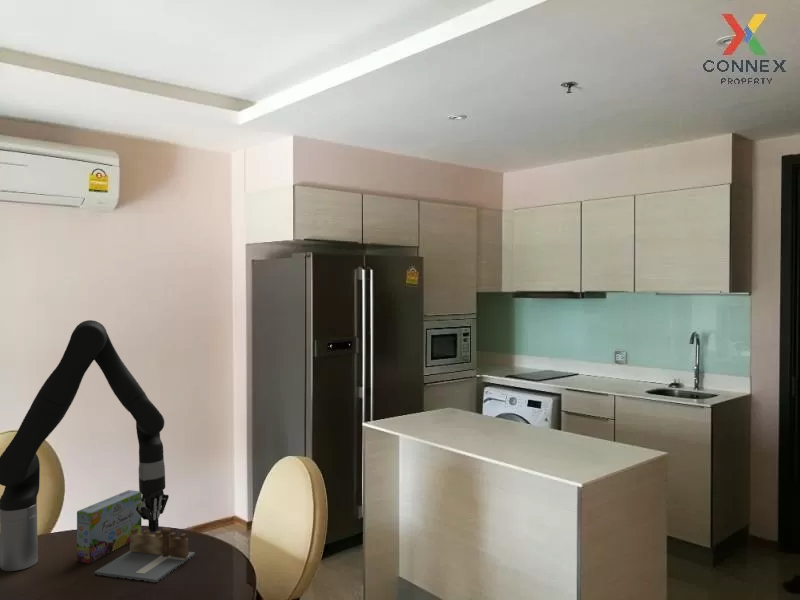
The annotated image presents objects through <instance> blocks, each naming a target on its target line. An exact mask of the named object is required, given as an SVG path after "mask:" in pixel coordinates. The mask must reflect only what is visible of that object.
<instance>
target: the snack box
mask: <svg viewBox="0 0 800 600" xmlns="http://www.w3.org/2000/svg"><path fill="white" fill-rule="evenodd" d="M141 499H142V493H141V492H140V491H139V490H133V489H132V490H131V489H128V490H124V491H123V492H120V493H118V494H116V495H114V496H110V497H109V498H106V499H103V500H101V501H98V502H96V503H94V504H91V505H89V506H87V507H84V508H82V509H78V510H77V511H76V561H77V562H81V563H86V564H89V563H90V564H92V563H93V562H95V560H96V561H97V560H100V558H103V557H105V556H107V555H108V553H109V554H110V552H111V553H112V551H113V552H115V551H117V550H119V549H120V547H121V546H123V545H125V544H127V543H129V542H130V534H131V530H132V529H134V528H137V529H138V533H142V523H143V522H142V521H143V520H142V519H143V518H142V517H141V516H140V514H139V513H138V512H137V511H136V507H140V505H141V503H142V502H141ZM129 544H130V543H129ZM127 545H128V544H127ZM125 546H126V545H125ZM123 547H124V546H123ZM118 548H119V549H118ZM121 548H122V547H121ZM116 549H117V550H116ZM114 550H115V551H114ZM106 554H107V555H106Z"/></svg>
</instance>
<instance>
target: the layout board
mask: <svg viewBox="0 0 800 600" xmlns="http://www.w3.org/2000/svg"><path fill="white" fill-rule="evenodd" d="M194 555H195V556H196V552H195V551H189V556H188V557H186V558H183V557H175V556H167V557H163V554H161V555H158V554H149V553H141V552H132V551H130V550H128V551H126V552H125V553H123V554H122V555H119V557H117V558H115V559H113V560H112V561H110V562H108V563H107V564H104V565H103V566H102V567H100V568H99V569H96V570H94V575H95V574H97V575H96V576H102V575H103V576H105V577H110V578H117V577H119V578H120V579H125V578H127V580H132V579H135V580H134V581H140V580H144V581H143V582H147V581H149V582H148V583H155V582H157V583H159V582H160V581H161V580H163V579H164V578H166V577H167V576H168V575H169V574H171V573H172V572H174V571H175V570H176V569H177V567H178V566H179V567H181V566H182V565H184V564H185V563H186V562H188V561H189V560H190V559H192V558H193V557H195V556H194ZM191 557H192V558H191ZM188 559H189V560H188ZM187 560H188V561H187ZM185 561H186V562H185ZM184 562H185V563H184ZM181 564H182V565H181ZM180 565H181V566H180ZM179 567H178V568H179ZM174 569H175V570H174ZM173 570H174V571H173ZM171 571H172V572H171ZM170 572H171V573H170ZM167 574H168V575H167ZM166 575H167V576H166ZM163 577H164V578H163ZM160 579H161V580H160ZM159 580H160V581H159Z"/></svg>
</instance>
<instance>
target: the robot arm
mask: <svg viewBox="0 0 800 600" xmlns="http://www.w3.org/2000/svg"><path fill="white" fill-rule="evenodd" d="M93 362H95V363H96V364H97V365H98V367H99V368H100V370H101V372H102V374H103V375H104V378H105V379H106V381H107V384H108V386H109V387H110V389H111V390H112V392H113V394H114V395H115V396H116V398H117V399H118V401H119V402H120V404H121V405H122V406H123V407H124V409H125V410H126V411H127V412H128V413H130V414H131V416H132V417H133V419H134V421H135V427H136V430H135V431H136V435H137V442H138V461H139V462H138V463H139V464H138V491H140V492H141V493H142V499H141V502H142V503H141V505H140V507H136V511H137V512H138V513H139V514H140V516H141V517H142V519H143V520H147V521H148V530H150V533H154V532H155V533H156V532H157V531H159V527H160V525H159V518H160V516H161V515H163V513H164V511H165V509H166V506H167V503H168V500H169V494H165V493H164V492H165V491H164V490H165V489H166V468H165V467H166V465H165V460H164V458H165V457H164V445H163V441H162V439H161V432H162V430H163V429H164V427H165V419H164V416H163V415H162V413H161V412H160V410H159V409H158V408H157V407H156V406H155V404H154V403H153V402H152V401H151V400H150V399H149V397H148V396H147V394H146V392H145V391H144V390H143V388H142V387H141V385H140V384H139V382H138V381H137V380H136V378H135V377H134V376H133V374H132V372H131V371H130V370H129V369H128V368H127V366H126V365H125V363H124V361H122V358H120V356H119V354H118V352H117V351H116V349H115V347H114V345H113V342H112V340H111V338H110V337H109V334H108V332H107V329H106V327H105V326H104V325H103V324H102V323H100V321H99V322H98V321H97V320H92V319H91V320H84V321H82V322H80V323H78V324H77V325H76V327H75V328H74V330H73V331H72V332H71V335H70V339H69V341H68V343H67V345H66V348H65V351H64V353H63V355H62V357H61V359H60V361H59V363H58V364H57V366H56V367H55V368H54V370H52V372H51V374H49V376H48V377H47V379H46V380H45V381H44V383H43V384H42V386H41V388H40V389H39V390H38V392H37V394H36V396H35V397H34V398H33V401H32V403H31V404H30V407H29V409H28V410H27V413H26V414H25V416H24V418H23V420H22V422H21V424H20V426H19V428H18V429H17V431H16V433H15V435H14V437H13V438H12V439H11V440H10V443H8V445H7V446H6V448H5V450H4V451H3V452H2V453H1V455H0V486H3V487H4V490H3V492H2V494H1V495H0V570H2V571H5V572H15V571H21V570H24V569H28V568H31V567H32V566H34V565H36V564H37V563H38V561H39V554H38V551H39V550H38V548H39V545H38V541H39V540H38V504H37V503H38V502H37V501H38V499H37V498H38V494H39V491H40V475H41V474H40V473H41V472H40V471H41V468H40V467H41V466H40V465H41V464H40V459H39V457H38V456H39V455H38V454H37V452H38V450H39V449H40V447H41V445H42V444H43V443H44V442H45V441H46V439H47V438H48V437H49V436H50V435H51V433H53V431H55V429H56V428H57V426H59V424H60V423H61V421H62V420H63V419H64V417H65V416H66V414H67V413H68V411H69V409H70V407H71V405H72V403H73V401H74V399H75V398H76V395H77V393H78V392H79V391H78V390H79V388H80V385H81V383H82V380H83V379H84V376H85V374H86V372H87V371H88V369H89V368H90V366H91V364H92V363H93Z"/></svg>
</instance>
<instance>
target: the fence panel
mask: <svg viewBox="0 0 800 600" xmlns="http://www.w3.org/2000/svg"><path fill="white" fill-rule="evenodd" d="M129 551H132V552H141V553H149V554H158V555H161V554H163V539H162V532H161V530H157V531H155V534H154V533H151V532H150V530H149V529H145V530H143V531H142V532H141V533H138V529H137V528H134V529H132V530H131V534H130V543H129Z"/></svg>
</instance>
